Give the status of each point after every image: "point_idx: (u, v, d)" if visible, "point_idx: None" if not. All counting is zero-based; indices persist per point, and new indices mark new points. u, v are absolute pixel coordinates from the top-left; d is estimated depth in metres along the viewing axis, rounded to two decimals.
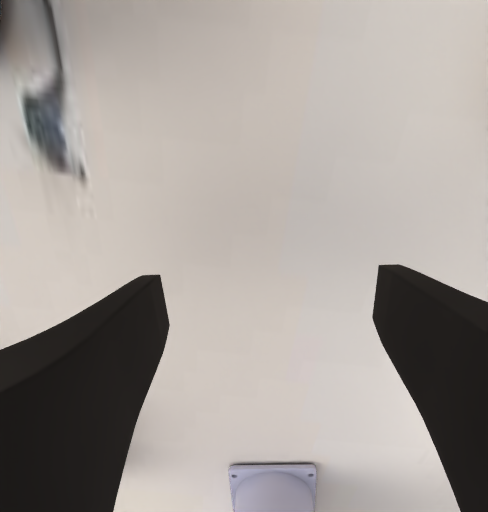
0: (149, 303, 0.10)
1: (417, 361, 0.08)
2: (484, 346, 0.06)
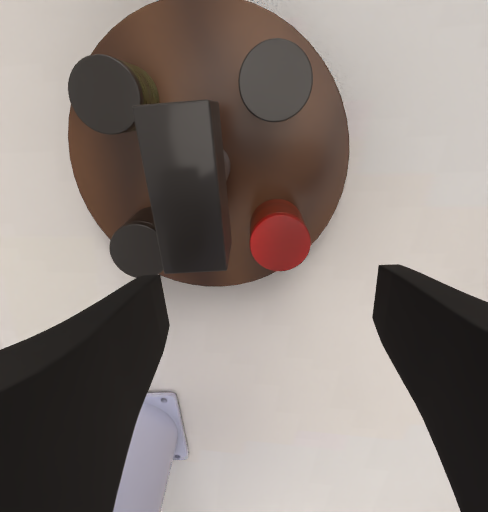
0: (149, 303, 0.10)
1: (417, 361, 0.08)
2: (484, 346, 0.06)
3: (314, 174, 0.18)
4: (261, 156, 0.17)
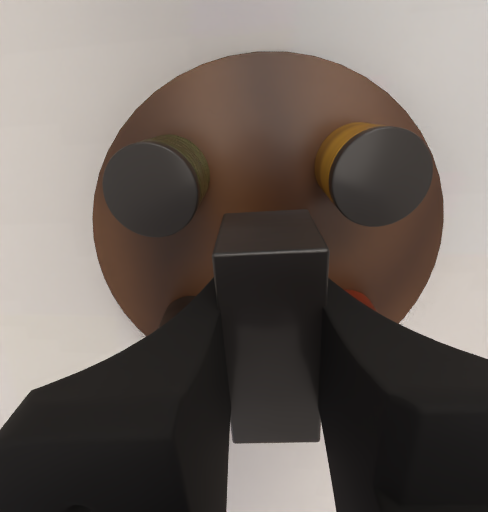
0: None
1: None
2: (340, 351, 0.06)
3: (395, 263, 0.14)
4: (331, 242, 0.14)
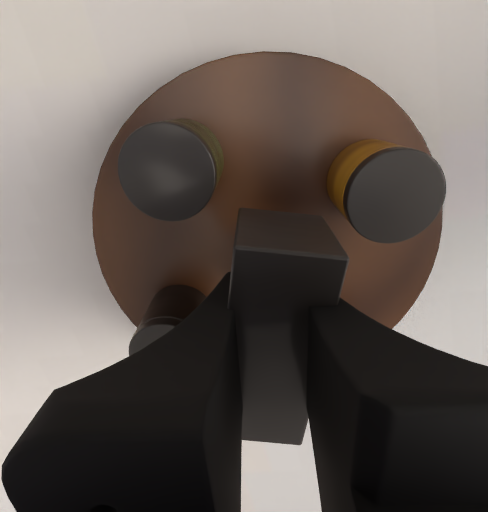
0: None
1: None
2: (322, 352, 0.06)
3: (387, 281, 0.15)
4: None
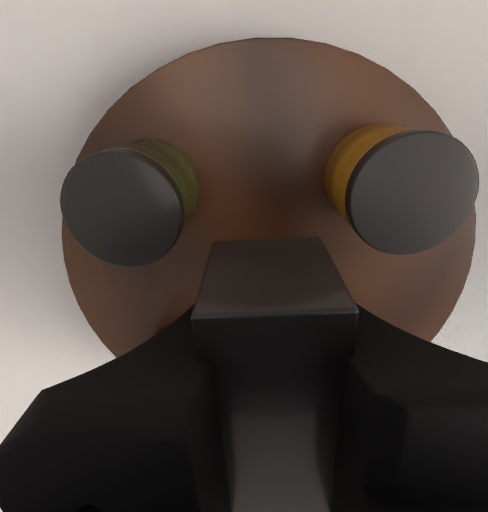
0: None
1: None
2: None
3: (416, 288, 0.12)
4: (343, 264, 0.12)
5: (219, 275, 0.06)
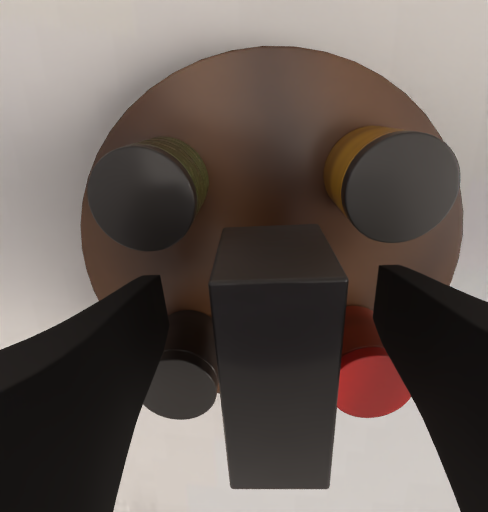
0: (149, 303, 0.10)
1: (417, 361, 0.08)
2: (484, 346, 0.06)
3: None
4: (340, 255, 0.13)
5: (230, 253, 0.07)
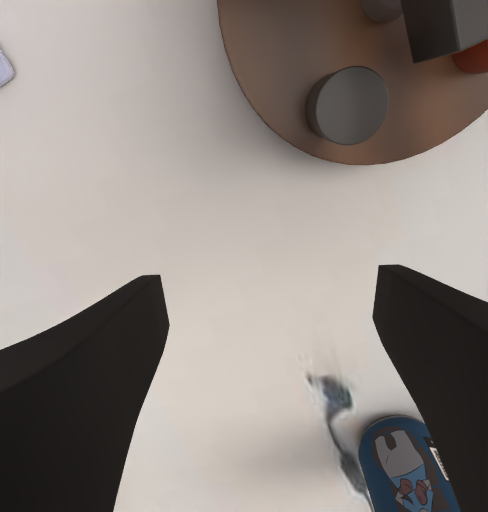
0: (149, 303, 0.10)
1: (417, 361, 0.08)
2: (484, 347, 0.06)
3: None
4: None
5: None
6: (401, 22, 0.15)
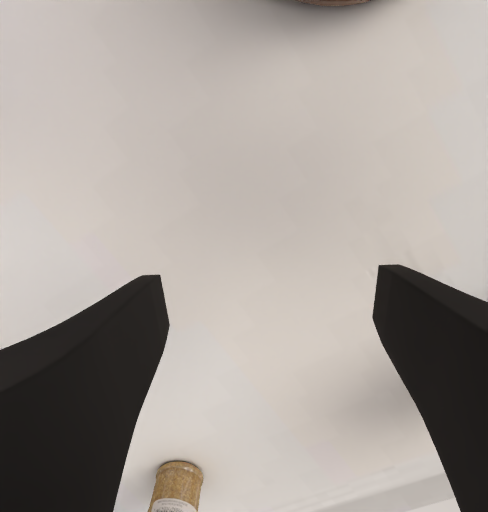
0: (149, 303, 0.10)
1: (417, 361, 0.08)
2: (484, 346, 0.06)
3: None
4: None
5: None
6: None
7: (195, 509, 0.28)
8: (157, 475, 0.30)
